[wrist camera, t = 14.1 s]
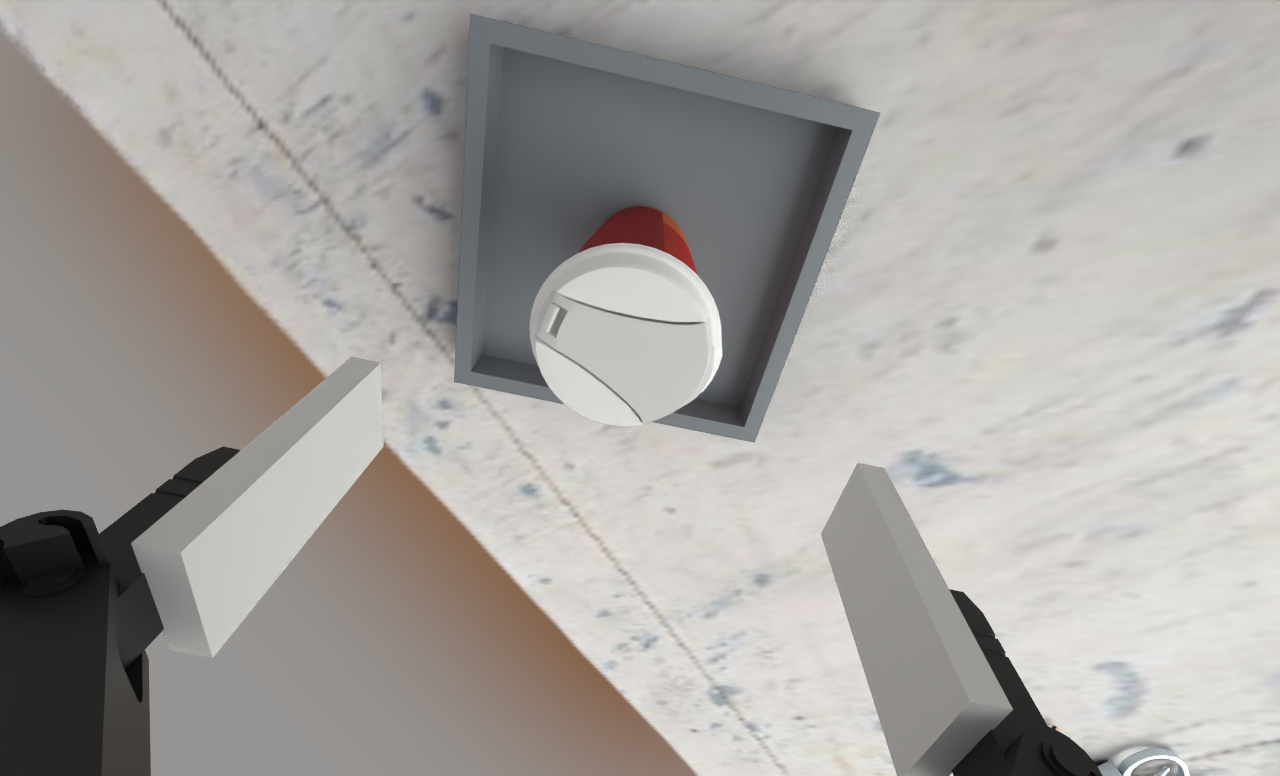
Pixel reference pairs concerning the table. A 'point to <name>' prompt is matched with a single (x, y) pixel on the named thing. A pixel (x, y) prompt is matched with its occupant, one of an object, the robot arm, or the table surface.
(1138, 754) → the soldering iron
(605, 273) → the paper cup
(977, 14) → the table surface
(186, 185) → the table surface
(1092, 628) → the table surface
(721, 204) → the tray
